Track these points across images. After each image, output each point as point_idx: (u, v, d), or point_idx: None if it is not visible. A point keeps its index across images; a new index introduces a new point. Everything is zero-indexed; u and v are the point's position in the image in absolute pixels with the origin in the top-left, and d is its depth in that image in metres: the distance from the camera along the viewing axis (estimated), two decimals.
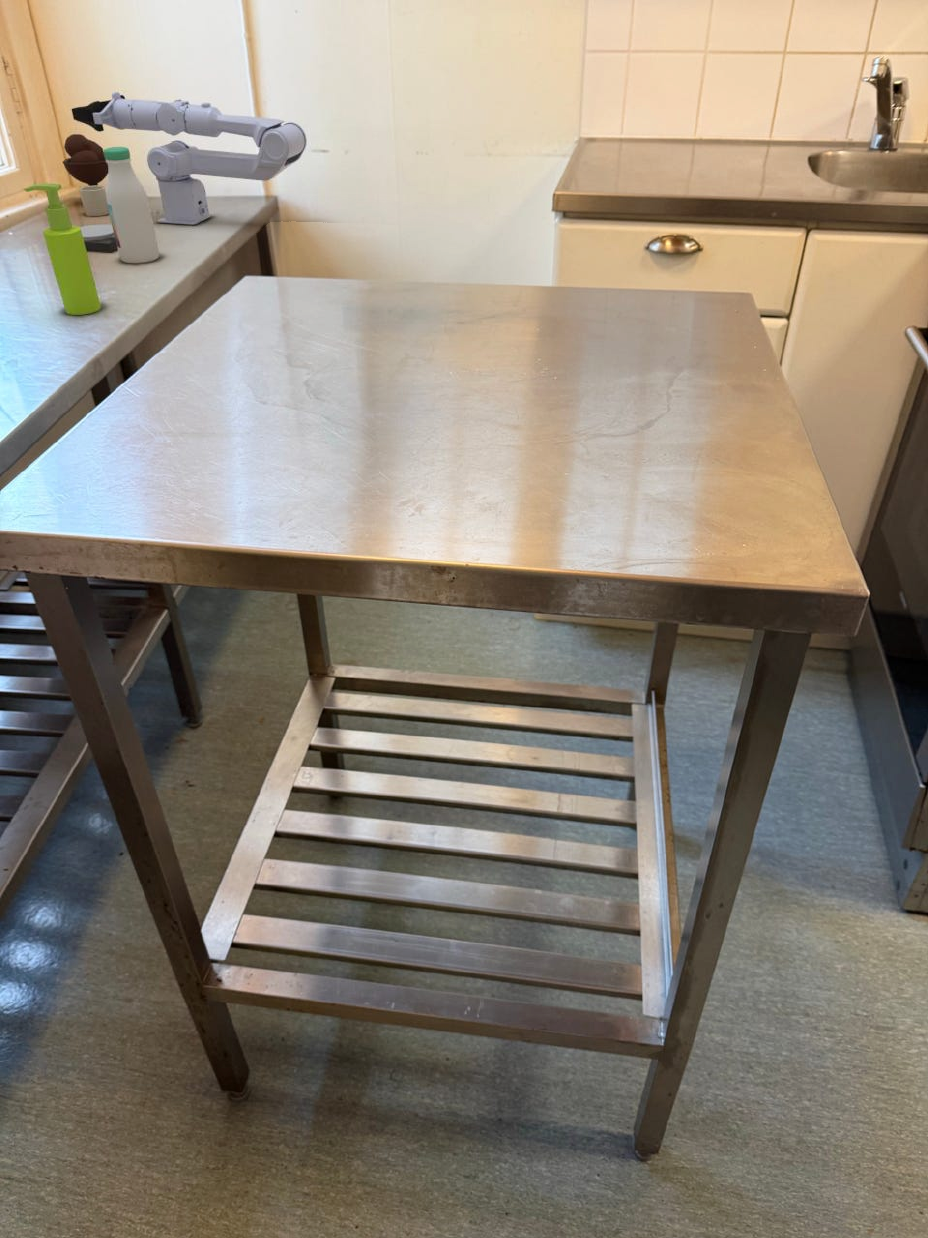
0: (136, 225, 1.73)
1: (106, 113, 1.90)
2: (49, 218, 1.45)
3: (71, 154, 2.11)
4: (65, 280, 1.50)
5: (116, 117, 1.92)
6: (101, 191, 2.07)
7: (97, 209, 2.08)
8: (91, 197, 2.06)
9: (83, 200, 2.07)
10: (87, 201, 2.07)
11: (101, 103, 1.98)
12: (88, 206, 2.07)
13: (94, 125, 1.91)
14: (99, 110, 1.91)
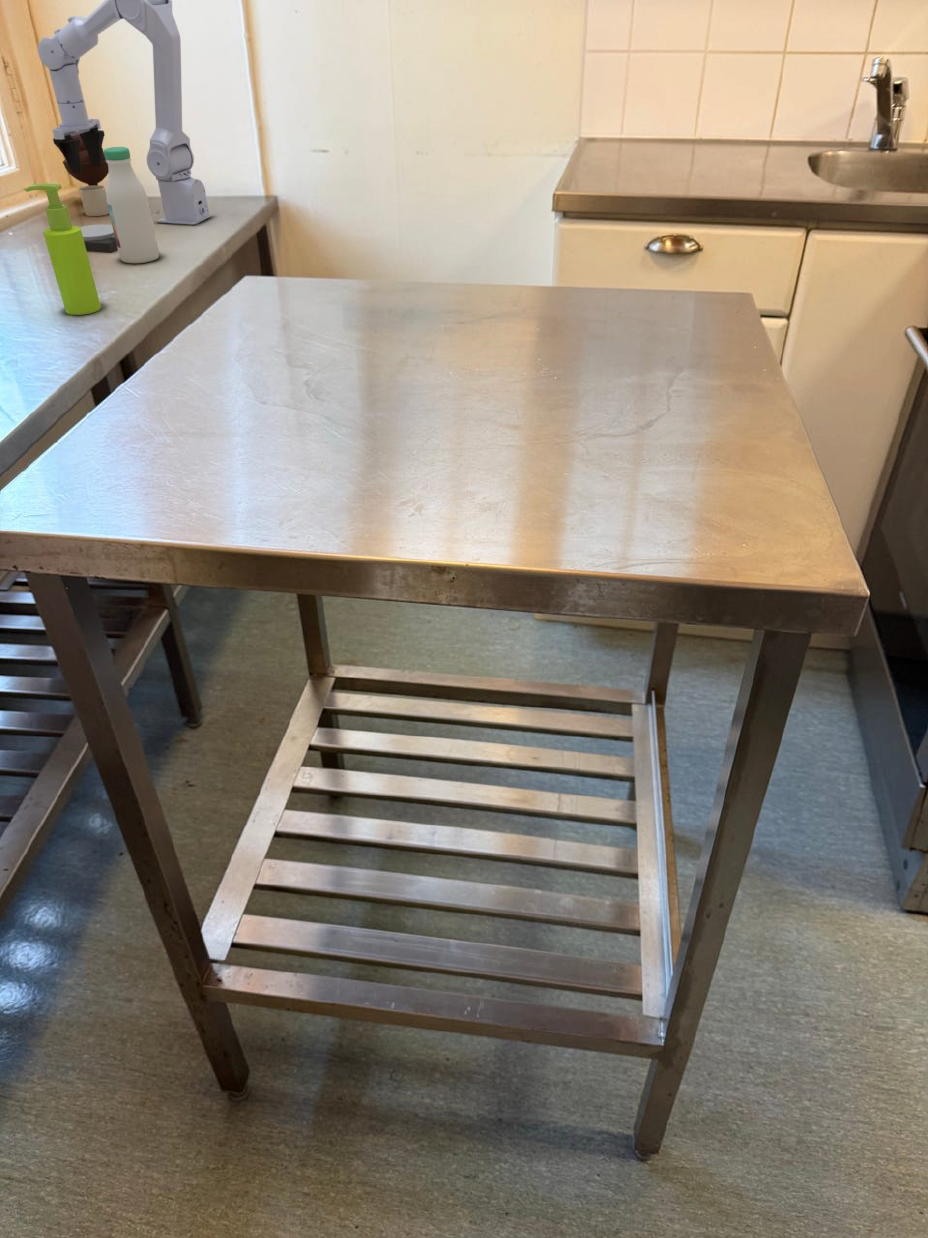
0: (136, 225, 1.73)
1: None
2: (49, 218, 1.45)
3: None
4: (65, 280, 1.50)
5: (68, 122, 1.97)
6: (101, 191, 2.07)
7: (97, 209, 2.08)
8: (91, 197, 2.06)
9: (83, 200, 2.07)
10: (87, 201, 2.07)
11: (89, 155, 2.07)
12: (88, 206, 2.07)
13: (69, 144, 1.97)
14: None
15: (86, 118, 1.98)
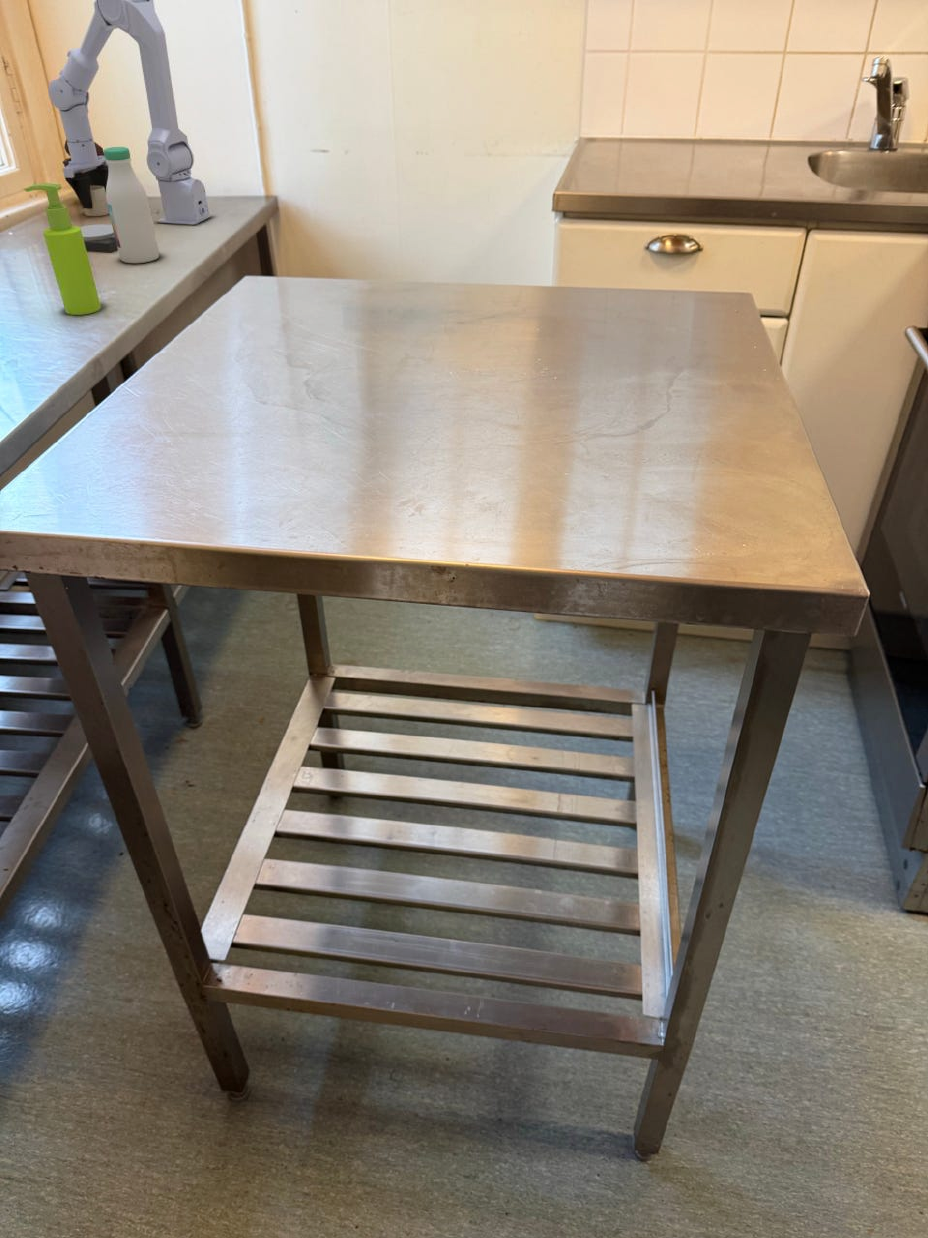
0: (136, 225, 1.73)
1: (70, 166, 2.01)
2: (49, 218, 1.45)
3: None
4: (65, 280, 1.50)
5: (78, 160, 2.02)
6: (101, 191, 2.07)
7: (97, 209, 2.08)
8: (91, 197, 2.06)
9: None
10: None
11: None
12: None
13: (81, 181, 2.02)
14: None
15: (95, 156, 2.03)
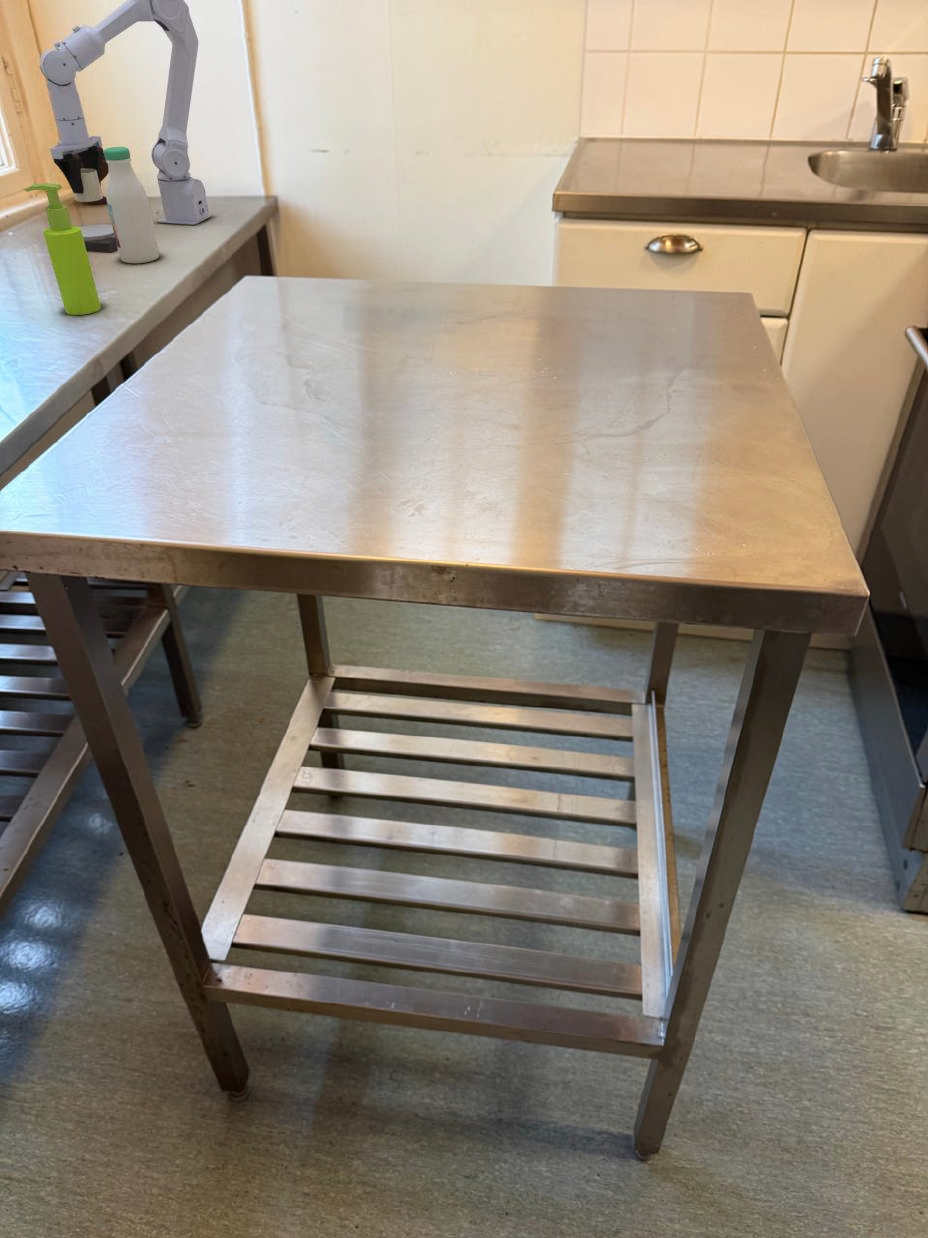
0: (136, 225, 1.73)
1: (58, 147, 1.84)
2: (49, 218, 1.45)
3: None
4: (65, 280, 1.50)
5: (67, 140, 1.85)
6: (93, 174, 1.90)
7: (88, 194, 1.91)
8: (82, 181, 1.89)
9: None
10: None
11: None
12: None
13: (70, 163, 1.85)
14: None
15: (86, 136, 1.86)
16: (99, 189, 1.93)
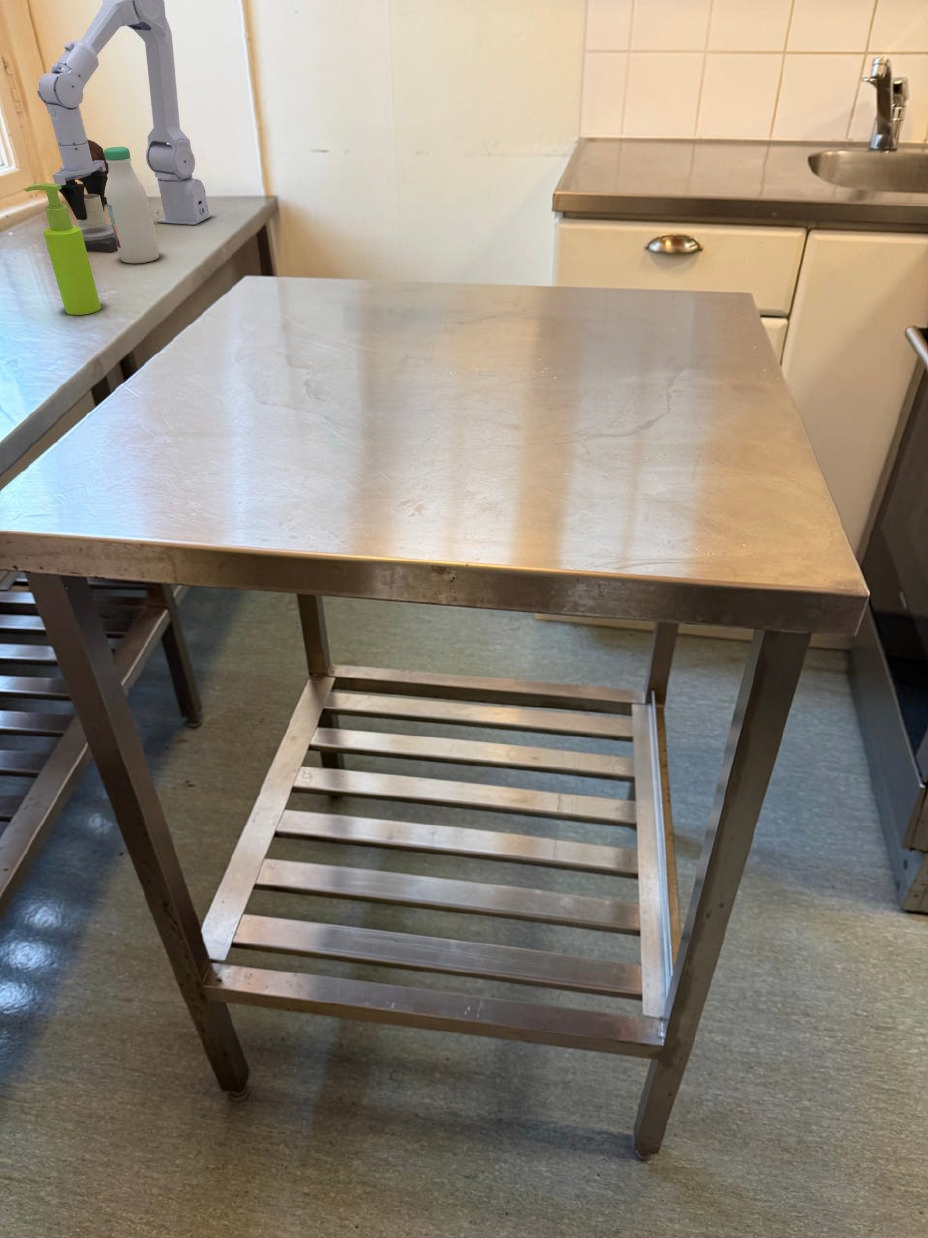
0: (136, 225, 1.73)
1: (61, 172, 1.78)
2: (49, 218, 1.45)
3: None
4: (65, 280, 1.50)
5: (70, 166, 1.78)
6: (96, 200, 1.84)
7: (92, 220, 1.85)
8: (85, 207, 1.83)
9: None
10: None
11: None
12: None
13: (73, 189, 1.78)
14: None
15: (90, 161, 1.80)
16: (103, 215, 1.86)
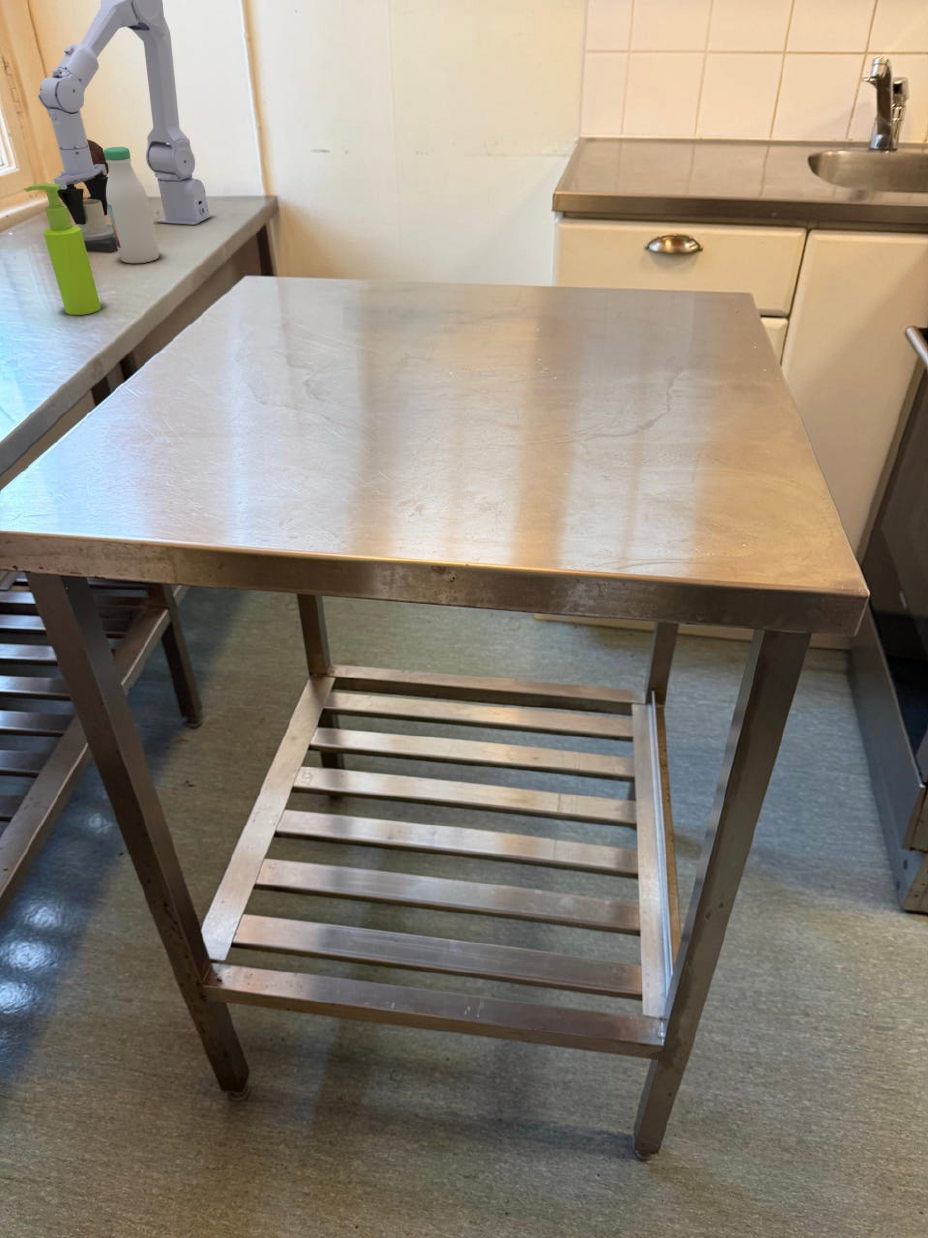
0: (136, 225, 1.73)
1: (62, 176, 1.78)
2: (49, 218, 1.45)
3: None
4: (65, 280, 1.50)
5: (71, 170, 1.79)
6: (97, 206, 1.84)
7: (93, 226, 1.85)
8: (87, 213, 1.84)
9: None
10: None
11: None
12: None
13: (72, 193, 1.78)
14: None
15: (91, 165, 1.80)
16: (104, 221, 1.87)
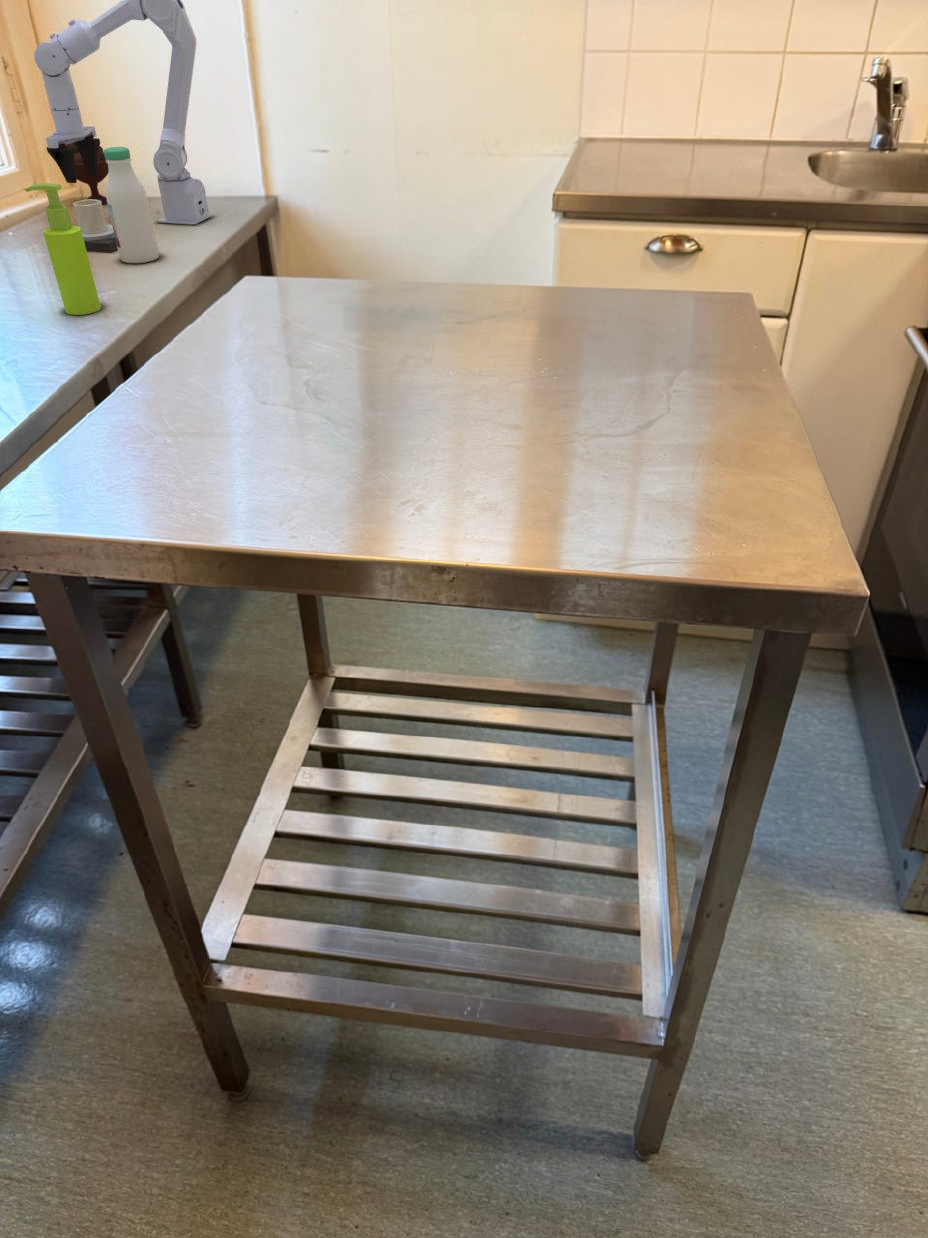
0: (136, 225, 1.73)
1: (54, 136, 1.88)
2: (49, 218, 1.45)
3: None
4: (65, 280, 1.50)
5: (62, 130, 1.89)
6: (97, 206, 1.84)
7: (93, 226, 1.85)
8: (87, 213, 1.84)
9: (77, 216, 1.85)
10: (82, 217, 1.84)
11: (85, 164, 1.99)
12: (83, 223, 1.85)
13: (64, 152, 1.88)
14: None
15: (81, 126, 1.90)
16: (104, 221, 1.87)
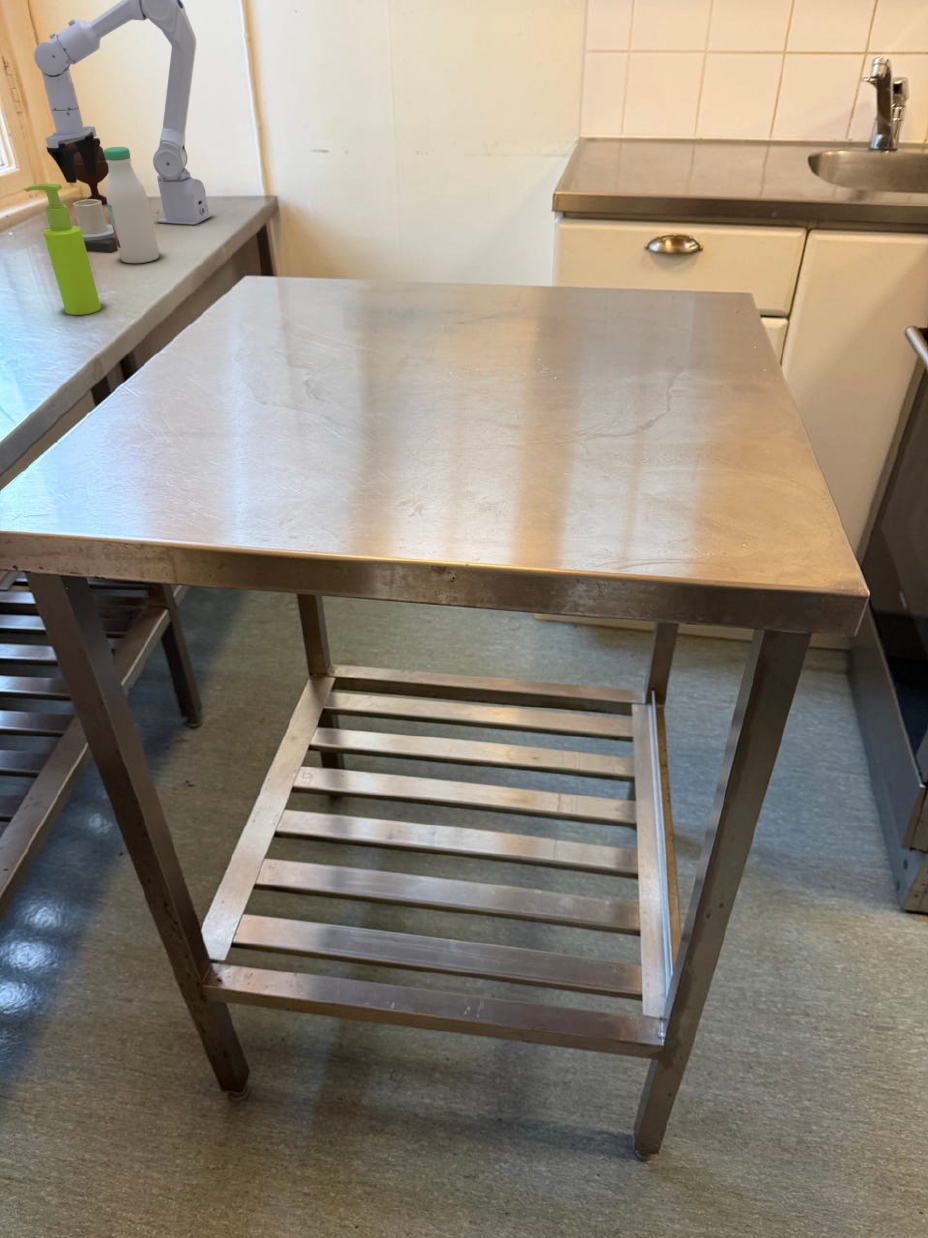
0: (136, 225, 1.73)
1: (54, 136, 1.88)
2: (49, 218, 1.45)
3: None
4: (65, 280, 1.50)
5: (62, 130, 1.89)
6: (97, 206, 1.84)
7: (93, 226, 1.85)
8: (87, 213, 1.84)
9: (77, 216, 1.85)
10: (82, 217, 1.84)
11: (85, 163, 1.99)
12: (83, 223, 1.85)
13: (63, 152, 1.89)
14: None
15: (81, 126, 1.91)
16: (104, 221, 1.87)
